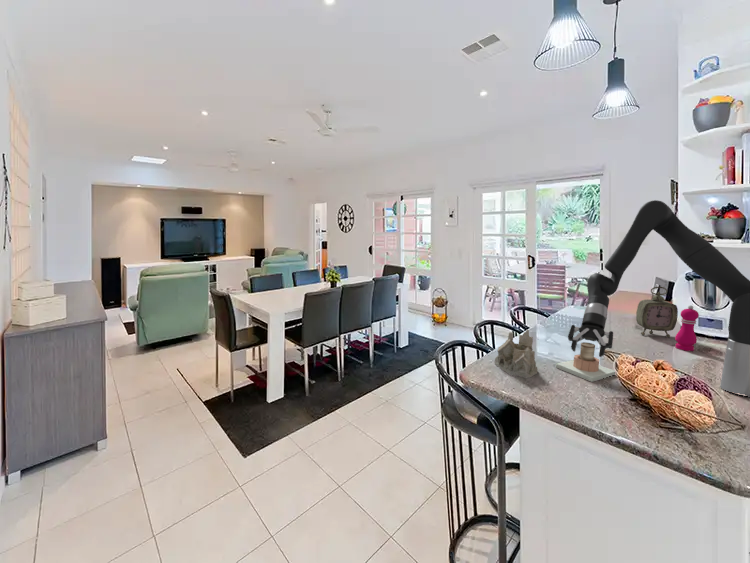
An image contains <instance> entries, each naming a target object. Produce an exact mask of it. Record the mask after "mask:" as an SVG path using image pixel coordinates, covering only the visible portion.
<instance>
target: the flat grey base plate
mask: <svg viewBox="0 0 750 563" xmlns="http://www.w3.org/2000/svg"><path fill="white" fill-rule="evenodd" d="M555 368H556V369H559V370H561V371H564V372H566V373H568V374H571V375H574V376H576V377H578V378H581V379H584V380H586V381H589V382H591V383H594V382H596V381H599V380H600V381H601V380H604V379H607V378H606V377H608V378H610V377H609V376H611V377H613V376H612V375H615V371H616V370H615V369H612V368H608V367H605V366H603V365H601V364H600V359H599V358H597V357H595V356H594V361H593V362H590V361H584V360H581V359H580V354H576V355H575V354H574V356H573V359H572V360H567V361H563V362H562V361H561V362H559V363H556V364H555ZM615 376H616V375H615ZM603 378H604V379H603Z"/></svg>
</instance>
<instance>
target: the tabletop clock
mask: <svg viewBox="0 0 750 563" xmlns="http://www.w3.org/2000/svg"><path fill="white" fill-rule="evenodd" d="M655 289H664V290H665V292H664V293H661V292H660V291H658V292H657V293H655V292H653V290H655ZM650 293H651V294H653V295H654V296H652V297H651V299H643V300H640V301H639V302H638V304H637V308H636V313H635V314H636V316H635V318H636V319H635V320H636V324H637V325H639V326H640V327H642V328H643V331H642V332H640V334H641V335H642V336H645V333H646V331H647V330H649V331H648V332H649V334H650V335H653V333H654V331H658V332H659V331H660V332H665V337H666V338H670V337H671V334H670V333H668V332H669V331H670V332H671V331H673V330H674V329H675V327H676V324H677V321H678V314H679V311H678V310H679V309H678V306H677V305H676V304H674V303H673V302H669V301H667V300H665V298H664V297H663V295H666V294H668V289H667V288H666V287H664V286H654V287H652V288H651V289H650Z"/></svg>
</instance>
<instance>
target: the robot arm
mask: <svg viewBox="0 0 750 563" xmlns="http://www.w3.org/2000/svg"><path fill="white" fill-rule="evenodd" d="M652 231H654V232H656V233H657V234H659V235H660V236H661V237H662V238H663V239H664V240H665V241H666V242H667V243H668V244H669V246H670V248H671V249H672V250H673V251H674V253H675V254H676V255H677V256H678V258H679V259H680V260H681V261H682V262H683V263H684V264H686V266H687V267H688V268H689V269H690V270H692V271H693V272H694V273H695V274H696V275H697V276H699V277H701V278H702V279H704V280H706V281H707V282H709V283H711V284H712V285H714V286H715V287H716V288H718V289H719V290H720V291H722V292H723V293H724V294H725V295H726V296H727V298H728V299H730V301H731V303H732V304H731V307H730V312H729V313H730V314H729V320H728V326H727V327H728V329H727V330H728V337H727V343H726V349H725V355H724V361H723V367H722V372H721V377H720V378H721V379H720V385H719V388H720V387H721V388H722V389H721V388H720V389H721V390H723V389H724V390H723V391H725V390H726V391H725V392H727V391H729V392H734V393H740V394H745V395H747V396H748V397H747V398H749V397H750V279H748V278H747V277H746V276H745V275H744V274H743V273H742V272H740V270H739V269H738V268H737V267H736V266H735V265H734V264H733V263H732V262H731V261H730V260H729V259H728V258H727V257H726V256H725V255H724V254H723V253H722V252H721V251H719V249H718V248H716V247H715V246H714V245H712V243H710V242H709V241H708V240H707V239H705V238H704V237H703V236H701V235H699V234H698V233H697V232H695V231H693V230H692V229H690V228H689V227H688V226H687V225H685V223H684V222H683V221H681V219H679V217H678V216H677V215H676V214H675V213H674V212H673V210H672V208H670V206H669V205H668V204H667V203H665V202H664V201H662V200H656V199H655V200H650V201H647V202H645V203H643V205H642V206H640V208H639V209H638V212H637V214H636V216H635V218H634V220H633V222H632V224H631V225H630V227H629V229H628V231H627V233H626V234H625V236H624V238H623V239H622V240H621V242H620V243H619V244H618V246H617V248H616V249H615V250H614V251H613V253H612V254H611V256H609V258H608V260H607V261H606V262H605V264H604V268H605V270H606V271H608V272H609V273H611V277H609V276H606V275H604V274H602V273H597V272H596V273H593V274H591V275H590V276H589V278H588V280H587V283H586V288H587V297H588V299H587V303H586V307H585V309H584V313H583V316H582V320H581V321H582V322H581V325H580V326H579V327H577V326H575V325H574V324H572V325H571V326H570V329H569V331H568V335H567V338H568V341H569V342H571V346H570V349H571V350H572V352H576V349H577V345H578V343H579V342H581V341H583V340H585V341H592V342H597V343H598V345H600V347H599V348H600V349H599V352H598V357H599V358H602V357H604V356H605V352H606V349H612V348H613V344H614V343H613V341H614V332H613V331H612V330H611V331H605V327H606V322H607V318H608V308H609V305H610V296H612V295H614V294H615V293H616V292H617V290H618V288H619V286H620V282H621V280H622V277H623V275H624V273H625V271H626V270H627V269H628V267H629V266H630V265H631V263H632V262H633V260H634V259H635V257H637V254H638V252H639V250H640V248H641V246H642V244H643V243H644V241H645V239H646V238H647V237H648V236H649V234H650V233H651V232H652ZM578 331H579V333H577V332H578ZM575 333H577V335H575ZM604 336H605V337H606V338H607V342H605V341H604V339H603V337H604ZM729 392H728V393H729Z"/></svg>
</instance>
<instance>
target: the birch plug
mask: <svg viewBox="0 0 750 563" xmlns="http://www.w3.org/2000/svg"><path fill="white" fill-rule="evenodd" d="M595 349H596V345H595V344H594V343H592V342H586V341H585V342H581V343H580V352H579V355H580V359H581V360H584V361H590V362H593V361H594V357H595Z"/></svg>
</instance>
